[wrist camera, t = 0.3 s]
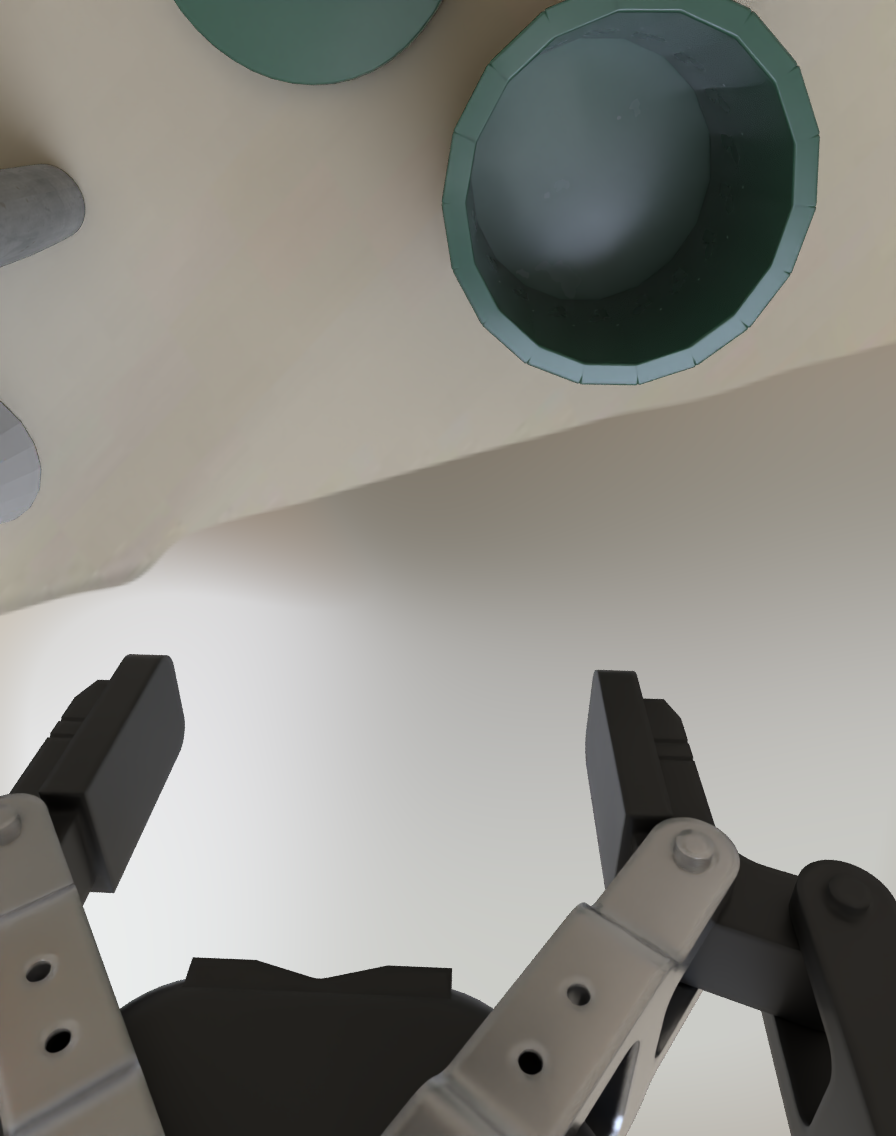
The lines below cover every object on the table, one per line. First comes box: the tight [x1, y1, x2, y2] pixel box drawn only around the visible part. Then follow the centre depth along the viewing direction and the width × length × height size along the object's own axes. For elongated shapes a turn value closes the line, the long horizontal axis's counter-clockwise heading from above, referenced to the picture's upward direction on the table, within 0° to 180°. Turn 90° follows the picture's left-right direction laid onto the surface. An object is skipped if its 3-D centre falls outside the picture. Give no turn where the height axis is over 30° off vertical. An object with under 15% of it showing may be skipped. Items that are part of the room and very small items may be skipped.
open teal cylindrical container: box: [442, 0, 820, 385], centre depth 31 cm, size 12×12×12 cm
